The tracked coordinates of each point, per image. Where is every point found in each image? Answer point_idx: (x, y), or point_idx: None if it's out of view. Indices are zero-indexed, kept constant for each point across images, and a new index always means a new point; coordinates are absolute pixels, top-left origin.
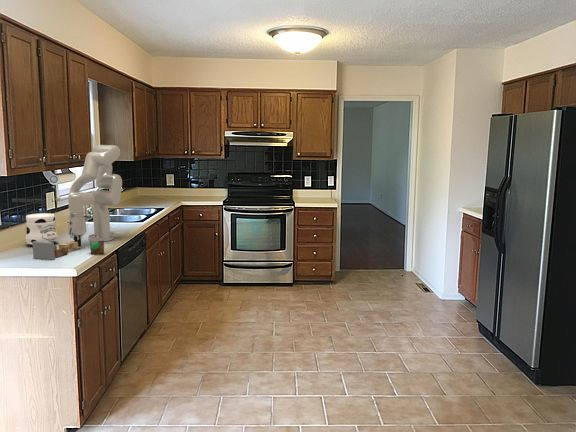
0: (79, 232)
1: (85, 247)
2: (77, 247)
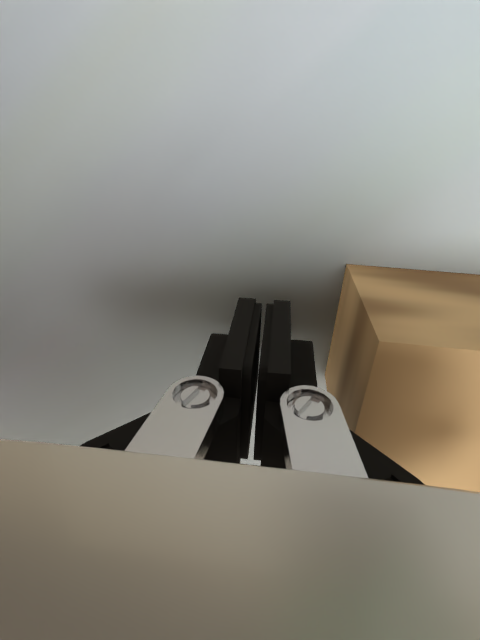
0: (401, 619)
1: (157, 262)
2: (378, 284)
